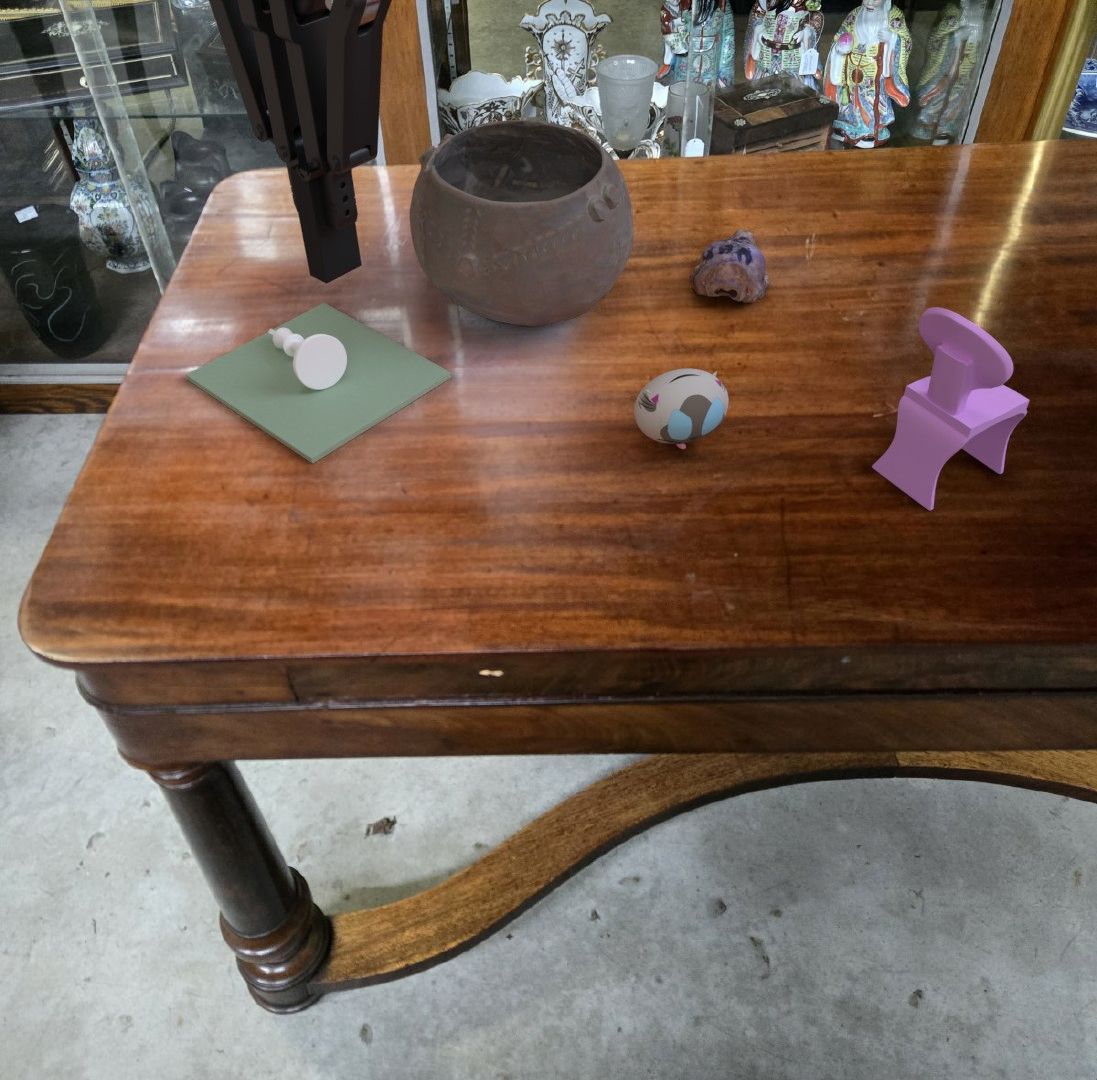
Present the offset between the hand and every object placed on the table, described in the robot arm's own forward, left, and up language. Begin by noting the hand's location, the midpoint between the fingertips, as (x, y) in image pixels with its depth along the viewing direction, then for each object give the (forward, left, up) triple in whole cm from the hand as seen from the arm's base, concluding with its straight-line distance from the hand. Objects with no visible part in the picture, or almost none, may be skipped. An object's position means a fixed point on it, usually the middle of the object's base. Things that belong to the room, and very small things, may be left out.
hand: (336, 269), depth 61 cm
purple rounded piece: (+49, +3, -24) cm, 55 cm away
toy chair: (+36, -26, -24) cm, 51 cm away
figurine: (+25, -8, -24) cm, 36 cm away
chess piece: (+10, +19, -21) cm, 30 cm away
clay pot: (+33, +17, -24) cm, 44 cm away
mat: (+11, +22, -24) cm, 34 cm away
